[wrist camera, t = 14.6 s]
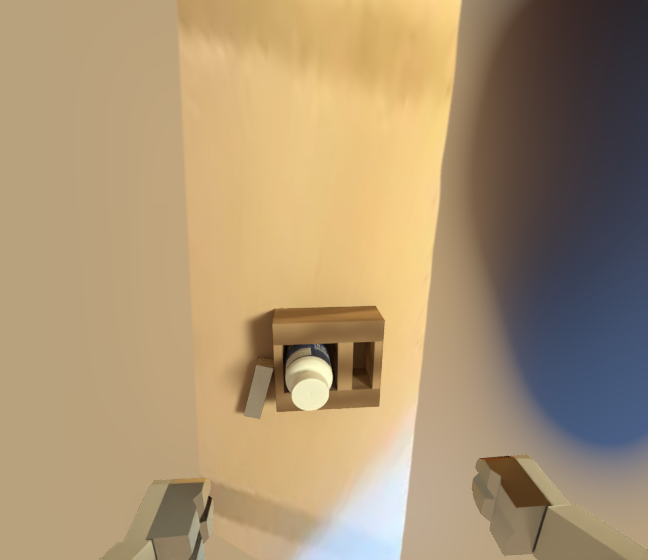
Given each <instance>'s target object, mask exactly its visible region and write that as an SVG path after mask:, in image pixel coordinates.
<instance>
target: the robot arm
mask: <svg viewBox="0 0 648 560" xmlns="http://www.w3.org/2000/svg"><path fill="white" fill-rule="evenodd" d="M476 470H477V471H478V474H477V475H476V476H475V477H474V478H473V483H472V491H473V496H474V500H475V502H476V505H477V507H478V509H479V511H480V513H481V514H482V515H483V516H484V517H485V518H486V519H488V520H489V521H490V522H491V524H490V531H491V533H492V535H493V537H494V538H495V540H496V542H497V544H498V546H499V548H500V549H501V551H502V553H503V555H504V556H505V555H522V554H534V557H535V558H536V559H538V560H648V549H647V548H645V547H644V546H642V545H640V544H639V543H637V542H636V541H634V540H632V539H631V538H629V537H627V536H626V535H624V534H623V533H621V532H619V531H618V530H616V529H615V528H613V527H611V526H610V525H608V524H607V523H605V522H603V521H601V520H600V519H599V518H597V517H595V516H593V515H592V514H590V513H589V512H587V511H586V510H584V509H582V508H581V507H579V506H578V505H576V504H570V503H569V502H568V501H567V500H566V498H565V497H564V496H563V495H562V494H561V492H560V491H559V490H558V489H557V488H556V487H555V485H554V484H553V483H552V482H551V481H550V479H549V478H548V477H547V476H546V475H545V473H544V472H543V471H542V470H541V469H540V467H539V466H538V465H537V464H536V463H535V462H534V460H533V459H532V458H531V457H529V456H528V455H517V456H516V455H515V456H499V457H487V458H479V459H478V460H477V462H476ZM210 488H211V485H210V480H209V478H192V479H172V480H154V482H153V483H152V484H151V485H150V486H149V488H148V490H147V493H146V494H145V497H144V499H143V501H142V503H141V505H140V507H139V509H138V511H137V513H136V516H135V518H134V520H133V522H132V524H131V526H130V528H129V530H128V532H127V534H126V536H125V538H124V541H123V542H119V543H116V544H115V545H114V546H113V547H112V548H111V549H110V550H109V551H107V552H106V553H105V554H104V555H103V556H102V557H101V558H100V559H99V560H204V556H205V554H204V549H203V544H204V543H205V542H206V540H207V539H208V538H209V536H210V531H211V527H212V520H213V499H212V498H211V497H210V496H209V491H210Z"/></svg>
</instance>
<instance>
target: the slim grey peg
mask: <svg viewBox="0 0 648 560" xmlns="http://www.w3.org/2000/svg"><path fill="white" fill-rule="evenodd" d="M273 368H274V360H270V359H265V358H260V357H258V360H257V364H256V368H255V372H254V376H253V380H252V384H251V388H250V392H249V396H248V401H247V405H246V409H245V413H244V416H247V417H252V418H258V419H260V417H261V413H262V409H263V406H264V402H265V398H266V394H267V391H268V387H269V383H270V379H271V376H272V372H273Z"/></svg>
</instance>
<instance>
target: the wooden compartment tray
mask: <svg viewBox="0 0 648 560" xmlns="http://www.w3.org/2000/svg"><path fill="white" fill-rule="evenodd" d="M384 323H385V320H384V319H383V317H382V315H381V314H380V312H379V311H378V309H377V307H376V306H360V307H325V308H290V309H275V311H274V317H273V323H272V329H273V349H274V368H275V388H276V408H277V412H285V411H304V410H302V409H300V408H298V407H297V406H296V405H295V404H294V403H293V401H292V397H291V393H290V391H289V390H288V388H287V385H286V381H285V374H286V372H285V352H284V345H297V344H324V343H334V370H332V375H333V381H332V385H331V387H330V389H329V397H328V400H327V402H326V403H325V404H324V405H323V406H322V407H321V408H319V409H316V410H322V409H341V408H360V407H378V406H379V400H380V385H381V369H382V354H383V338H384ZM353 342H366V361H365V369H353Z"/></svg>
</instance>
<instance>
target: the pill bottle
mask: <svg viewBox="0 0 648 560" xmlns="http://www.w3.org/2000/svg"><path fill="white" fill-rule="evenodd" d="M285 381H286V385H287V388H288V390H289V391H290V393H291V397H292V401H293V403H294V404H295V405H296V406H297V407H298V408H300V409H302V410H306V411H312V410H316V409H319V408H321V407H322V406H323V405H324V404H325V403H326V402H327V400H328V397H329V389H330V387H331V385H332V381H333V375H332V369H331V364H330V359H329V354H328V349H327V345H326V343H324V344H297V345H288V347H287V357H286V374H285Z"/></svg>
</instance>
